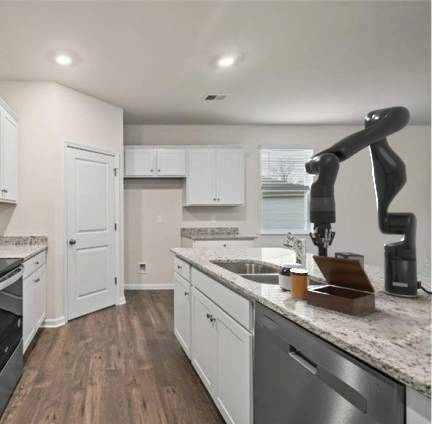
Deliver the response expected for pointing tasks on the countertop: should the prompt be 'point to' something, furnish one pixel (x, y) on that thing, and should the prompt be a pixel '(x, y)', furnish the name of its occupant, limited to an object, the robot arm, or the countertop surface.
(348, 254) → the coffee box
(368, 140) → the robot arm
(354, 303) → the chest
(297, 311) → the countertop surface
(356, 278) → the chest lid
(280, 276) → the spread jar
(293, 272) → the jar
